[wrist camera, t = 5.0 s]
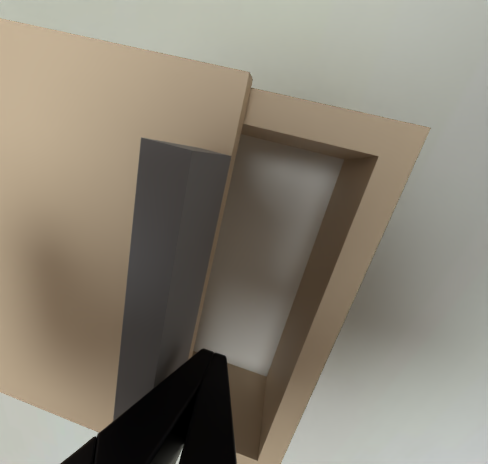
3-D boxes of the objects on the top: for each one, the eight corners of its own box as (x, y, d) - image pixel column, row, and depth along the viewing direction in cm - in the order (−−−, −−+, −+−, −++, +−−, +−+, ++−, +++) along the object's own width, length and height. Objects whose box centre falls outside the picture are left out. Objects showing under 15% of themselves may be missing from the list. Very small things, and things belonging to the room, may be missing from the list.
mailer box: (371, 143, 11) (430, 128, 7) (277, 389, 16) (272, 482, 11) (105, 80, 13) (-3, 31, 8) (93, 323, 18) (20, 381, 13)
